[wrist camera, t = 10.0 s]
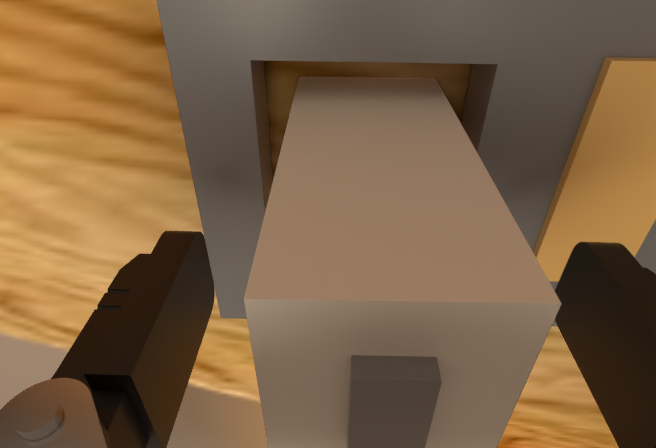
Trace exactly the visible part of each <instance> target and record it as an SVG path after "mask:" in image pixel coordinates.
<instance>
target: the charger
mask: <svg viewBox="0 0 656 448" xmlns="http://www.w3.org/2000/svg"><path fill="white" fill-rule="evenodd" d="M244 303H245V309H246V315H247V321H248V327H249V333H250V340H251V346H252V352H253V358H254V364H255V370H256V376H257V382H258V388H259V394H260V400H261V406H262V412H263V418H264V425H265V431H266V437H267V443H268V448H497V446H498V444H499V441H500V439H501V437H502V435H503V432H504V430H505V428H506V426H507V424H508V421H509V419H510V417H511V415H512V413H513V410H514V408H515V406H516V404H517V401H518V399H519V397H520V395H521V393H522V390H523V388H524V386H525V384H526V382H527V379H528V377H529V375H530V373H531V370H532V368H533V366H534V364H535V362H536V359H537V357H538V355H539V353H540V351H541V348H542V346H543V344H544V342H545V339H546V337H547V335H548V333H549V331H550V328H551V326H552V324H553V322H554V320H555V317H556V315H557V313H558V311H559V308H560V306H561V302H560V300H559V298H558V296H557V295H556V293H555V291H554V289H553V287H552V286H551V284H550V282H549V280H548V278H547V277H546V275H545V273H544V271H543V270H542V268H541V266H540V264H539V262H538V261H537V259H536V257H535V255H534V253H533V252H532V250H531V248H530V246H529V245H528V243H527V241H526V239H525V237H524V236H523V234H522V232H521V230H520V228H519V227H518V225H517V223H516V221H515V219H514V218H513V216H512V214H511V212H510V211H509V209H508V207H507V205H506V203H505V202H504V200H503V198H502V196H501V194H500V193H499V191H498V189H497V187H496V185H495V184H494V182H493V180H492V178H491V177H490V175H489V173H488V171H487V169H486V168H485V166H484V164H483V162H482V160H481V159H480V157H479V155H478V153H477V151H476V150H475V148H474V146H473V144H472V143H471V141H470V139H469V137H468V135H467V134H466V132H465V130H464V128H463V126H462V125H461V123H460V121H459V119H458V117H457V116H456V114H455V112H454V110H453V109H452V107H451V105H450V103H449V101H448V100H447V98H446V96H445V94H444V92H443V91H442V89H441V87H440V85H439V84H438V82H437V80H436V78H435V77H299V78H298V82H297V86H296V90H295V94H294V98H293V102H292V106H291V110H290V114H289V118H288V122H287V127H286V131H285V135H284V139H283V143H282V147H281V151H280V155H279V159H278V163H277V167H276V171H275V175H274V179H273V183H272V187H271V191H270V195H269V199H268V203H267V207H266V211H265V215H264V219H263V223H262V227H261V231H260V235H259V239H258V243H257V247H256V251H255V255H254V259H253V264H252V268H251V272H250V276H249V280H248V284H247V288H246V292H245V296H244Z"/></svg>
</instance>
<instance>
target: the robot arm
mask: <svg viewBox="0 0 656 448" xmlns="http://www.w3.org/2000/svg"><path fill="white" fill-rule="evenodd" d="M555 293H556V295H557V296H558V298H559V300H560V302H561V306H560V308H559V311H558V313H557V315H556V317H555V322H556V324H557V326H558V328H559V330H560V332H561V334H562V336H563V338H564V340H565V341H566V343H567V345H568V347H569V349H570V351H571V353H572V355H573V357H574V359H575V361H576V363H577V365H578V367H579V369H580V371H581V373H582V375H583V377H584V379H585V381H586V383H587V385H588V387H589V389H590V391H591V393H592V395H593V397H594V399H595V401H596V403H597V405H598V407H599V409H600V411H601V413H602V415H603V417H604V419H605V420H606V422H607V424H608V426H609V428H610V430H611V432H612V434H613V436H614V438H615V440H616V442H617V444H618V446H619V448H656V274H655V273H654V272H652V271H651V270H649V269H648V268H643V267H642V266H641V265H640V264H639V262H638V261H637V260H636V259H635V258H634V256H633V255H632V254H631V253H630V252H629V250H628V249H627V248H626V247H625V246H624V245H622V244H620V243H610V242H579V243H578V244H576V245H575V247H574V248H573V250H572V252H571V254H570V257H569V259H568V261H567V264H566V266H565V268H564V270H563V273H562V275H561V277H560V280H559V282H558V284H557V287H556V289H555ZM213 303H214V281H213V276H212V271H211V267H210V262H209V257H208V252H207V247H206V243H205V238H204V236H203V234H202V233H201V232H192V231H165V232H164V233H163V234H162V235H161V237H160V239H159V240H158V242H157V244H156V246H155V247H154V249H153V251H152V253H151V254H139V255H137V256H136V257H135V258H134V259H132V260H131V261H130V262H129V263H128V264H126V265H125V266H124V267H123V268H121V269H120V270H119V272H118V273H117V275H116V277H115V278H114V280H113V281H112V283H111V285H110V286H109V288H108V292H107V293H105V294H104V296H103V297H102V299H101V301H100V302H99V304H98V308H97V310H94V312H93V313H92V315H91V317H90V318H89V320H88V321H87V323H86V325H85V326H84V328H83V329H82V331H81V333H80V334H79V336H78V337H77V339H76V341H75V342H74V344H73V345H72V347H71V349H70V350H69V352H68V353H67V355H66V357H65V358H64V360H63V361H62V363H61V365H60V366H59V368H58V369H57V371H56V373H55V374H54V375H53V377H52V378H51V379H50V380H46V381H43V382H40V383H38V384H35V385H33V386H31V387H29V388H27V389H25V390H24V391H22V392H21V393H19V394H18V395H16V396H15V397H14V398H12V399H11V400H10V401H9V402H8V403H7V404H6V405H5V406H4V407H3V408H2V409H1V410H0V448H166V447H167V444H168V441H169V438H170V435H171V432H172V429H173V426H174V423H175V420H176V417H177V414H178V411H179V408H180V405H181V402H182V399H183V396H184V393H185V390H186V387H187V384H188V381H189V378H190V375H191V372H192V369H193V366H194V363H195V360H196V357H197V354H198V351H199V348H200V345H201V342H202V339H203V336H204V333H205V330H206V327H207V324H208V321H209V318H210V315H211V312H212V308H213Z"/></svg>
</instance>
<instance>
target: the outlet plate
mask: <svg viewBox="0 0 656 448" xmlns="http://www.w3.org/2000/svg"><path fill="white" fill-rule="evenodd" d="M157 4H158V9H159V14H160V19H161V24H162V29H163V34H164V39H165V44H166V49H167V54H168V59H169V64H170V69H171V74H172V79H173V83H174V88H175V93H176V98H177V103H178V108H179V113H180V118H181V123H182V128H183V133H184V138H185V143H186V148H187V153H188V158H189V162H190V167H191V172H192V177H193V182H194V187H195V192H196V197H197V202H198V207H199V212H200V217H201V222H202V227H203V232H204V237H205V241H206V246H207V251H208V256H209V261H210V266H211V271H212V276H213V281H214V286H215V291H216V296H217V301H218V306H219V311H220V316H221V318H241V319H247V315H246V309H245V303H244V296H245V292H246V288H247V284H248V280H249V276H250V272H251V268H252V264H253V259H254V255H255V251H256V247H257V243H258V239H259V235H260V231H261V227H262V223H263V219H264V215H265V211H266V207H267V203H268V199H269V195H270V191H271V187H272V183H273V173H272V160H271V147H270V134H269V121H268V108H267V95H266V82H265V69H264V61H321V62H387V63H454V64H473V65H472V70H471V75H470V80H469V85H468V90H467V95H466V100H465V105H464V110H463V115H462V120H461V125H462V126H463V128H464V130H465V132H466V134H467V135H468V137H469V139H470V141H471V143H472V144H473V146H474V148H475V150H476V151H477V153H478V155H479V157H480V159H481V160H482V162H483V164H484V166H485V168H486V169H487V171H488V173H489V175H490V177H491V178H492V180H493V182H494V184H495V185H496V187H497V189H498V191H499V193H500V194H501V196H502V198H503V200H504V202H505V203H506V205H507V207H508V209H509V211H510V212H511V214H512V216H513V218H514V219H515V221H516V223H517V225H518V227H519V228H520V230H521V232H522V234H523V236H524V237H525V239H526V241H527V243H528V245H529V246H530V248H531V250H532V252H533V253H534V255H535V257H536V259H537V261H538V262H539V264H540V266H541V268H542V270H543V271H544V273H545V275H546V277H547V278H548V280H549V282H550V284H551V286H552V287H553V289H554V291H555V289H556V287H557V284H558V282H559V280H560V277H561V275H562V273H563V270H564V268H565V266H566V264H567V261H568V259H569V257H570V254H571V252H572V250H573V248H574V247H575V245H576V244H578V243H579V242H610V243H620V244H622V245H624V246H625V247H626V248H627V249H628V250H629V252H630V253H631V254H632V255H633V256H634V258H635V259H636V260H637V261H638V262H639V264H640V265H641V266H642V267H643V268H648V269H649V270H651V271H652V272H654V273H655V274H656V0H157ZM552 326H557V324H556V322H555V320H554V322H553V324H552Z"/></svg>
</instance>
